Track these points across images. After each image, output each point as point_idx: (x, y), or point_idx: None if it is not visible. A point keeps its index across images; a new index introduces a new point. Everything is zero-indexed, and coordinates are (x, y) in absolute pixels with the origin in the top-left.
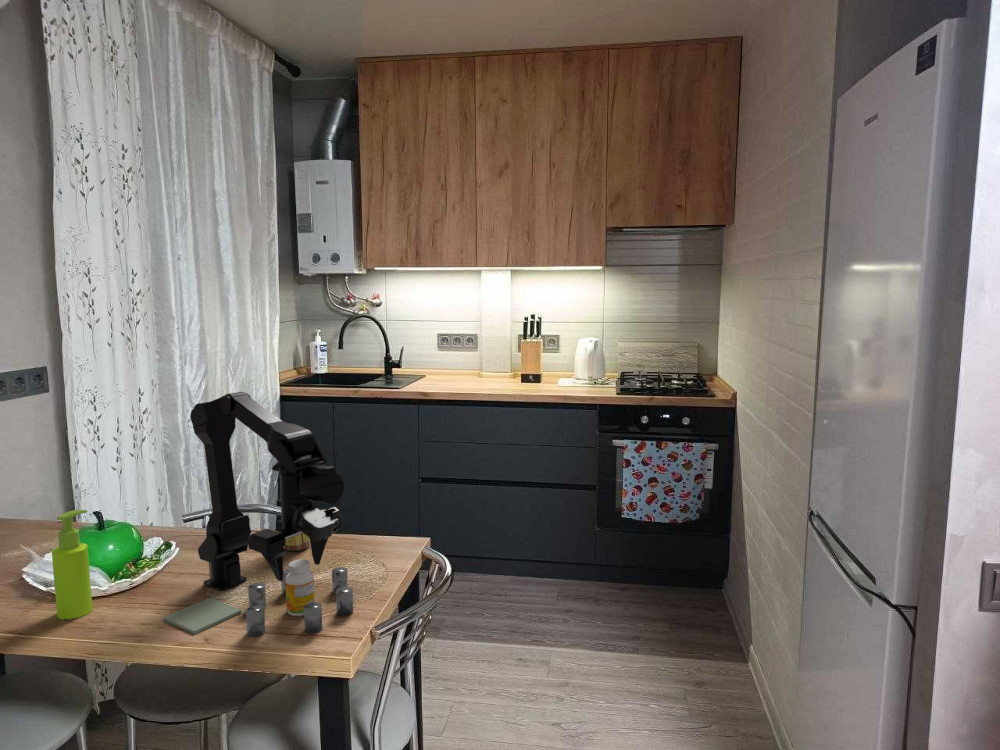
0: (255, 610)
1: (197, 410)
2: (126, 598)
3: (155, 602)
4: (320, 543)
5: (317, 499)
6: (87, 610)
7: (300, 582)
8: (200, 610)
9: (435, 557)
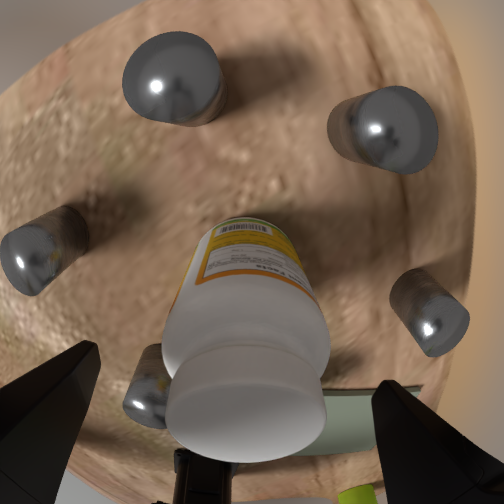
0: (455, 326)
1: None
2: (310, 493)
3: (312, 478)
4: (7, 448)
5: None
6: (358, 489)
7: (315, 310)
8: (338, 438)
9: None
